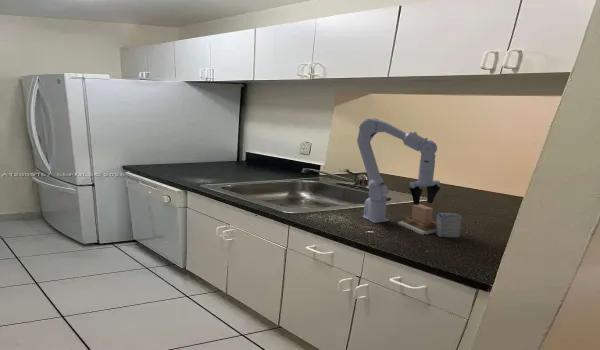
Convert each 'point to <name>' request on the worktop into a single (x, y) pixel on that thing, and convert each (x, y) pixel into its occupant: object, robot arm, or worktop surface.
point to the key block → (422, 214)
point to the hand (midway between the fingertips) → (422, 203)
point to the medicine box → (448, 224)
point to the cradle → (418, 226)
